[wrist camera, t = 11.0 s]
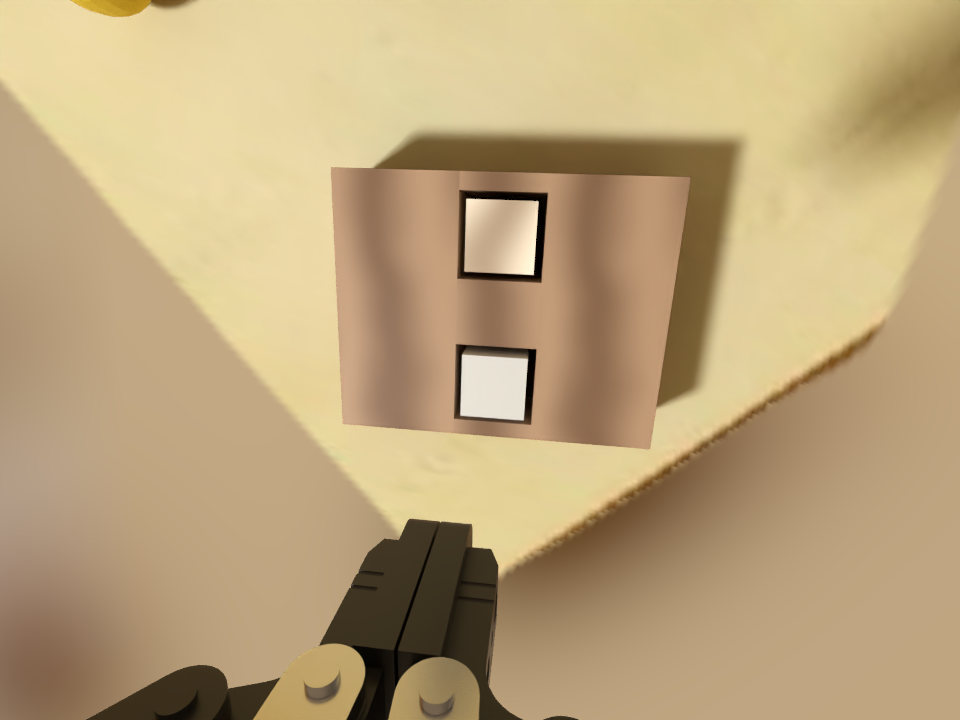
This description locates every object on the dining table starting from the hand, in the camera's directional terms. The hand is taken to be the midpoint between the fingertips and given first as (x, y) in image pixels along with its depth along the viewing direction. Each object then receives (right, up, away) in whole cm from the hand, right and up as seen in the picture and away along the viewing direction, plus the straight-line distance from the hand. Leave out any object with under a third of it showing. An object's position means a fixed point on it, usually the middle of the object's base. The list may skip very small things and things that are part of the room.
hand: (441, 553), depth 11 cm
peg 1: (+3, +13, +20) cm, 24 cm away
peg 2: (+2, +4, +22) cm, 23 cm away
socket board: (+3, +9, +22) cm, 24 cm away
